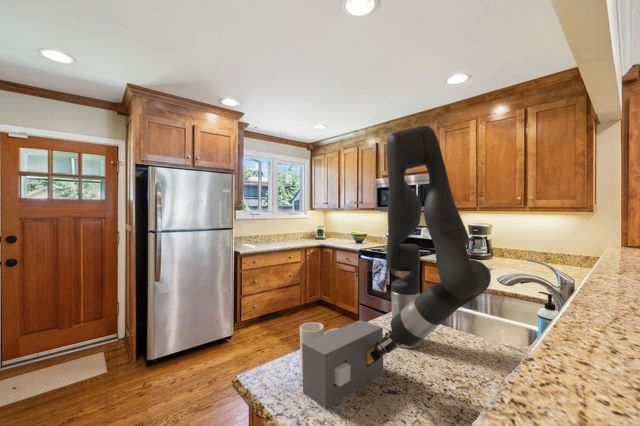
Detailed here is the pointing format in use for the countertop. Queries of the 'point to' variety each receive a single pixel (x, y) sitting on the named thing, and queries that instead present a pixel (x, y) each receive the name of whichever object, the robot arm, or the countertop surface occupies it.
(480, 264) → the robot arm
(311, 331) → the mug
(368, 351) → the orange button
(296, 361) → the countertop surface
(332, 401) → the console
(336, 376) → the white cube
